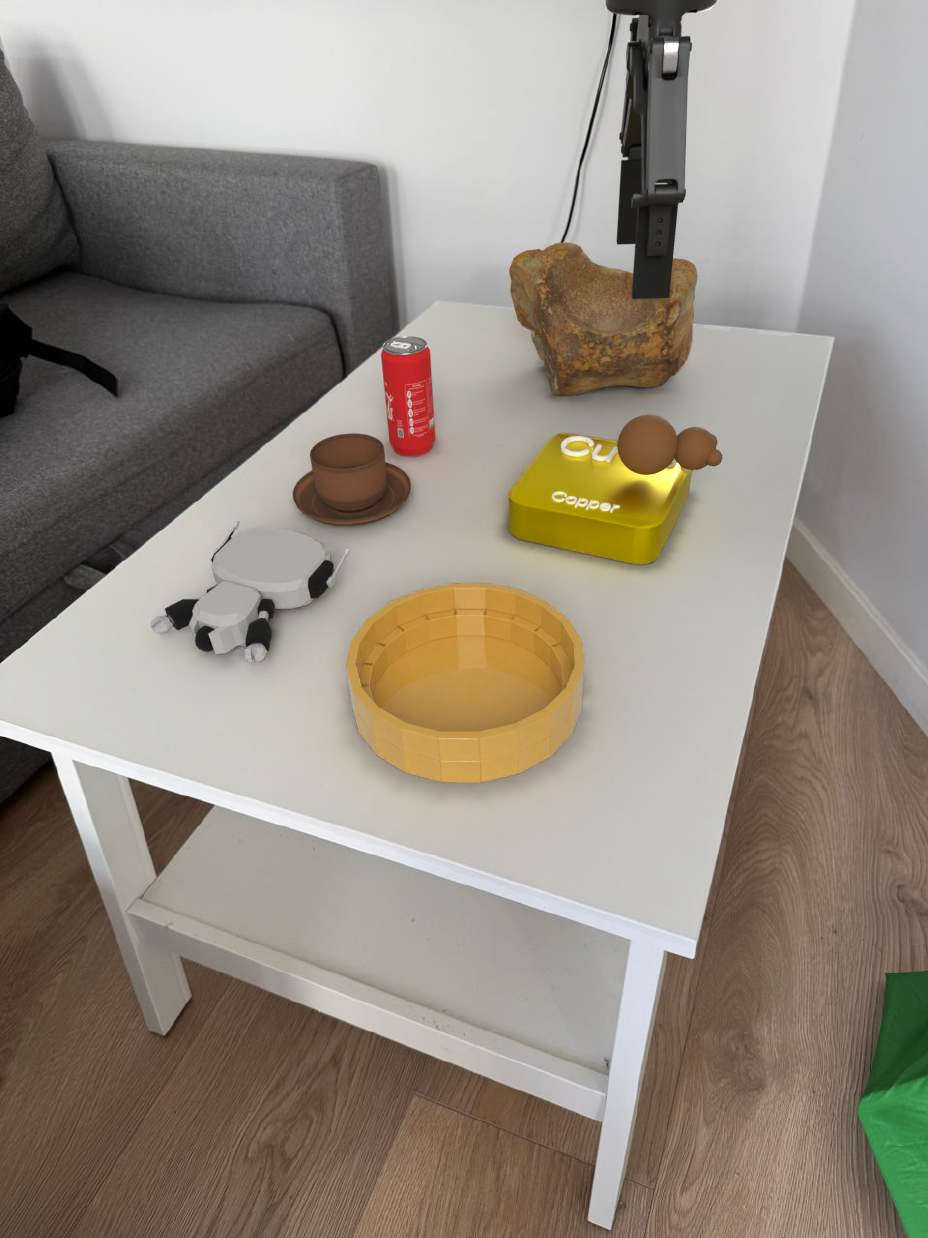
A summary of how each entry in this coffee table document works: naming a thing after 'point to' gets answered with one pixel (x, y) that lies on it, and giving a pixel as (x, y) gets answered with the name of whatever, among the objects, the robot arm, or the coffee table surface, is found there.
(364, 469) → the cup and saucer
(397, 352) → the beverage can
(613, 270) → the rough brown rock
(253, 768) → the coffee table surface
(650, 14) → the robot arm
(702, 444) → the plush bear
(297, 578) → the robot toy
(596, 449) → the element tile
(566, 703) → the ochre bowl
